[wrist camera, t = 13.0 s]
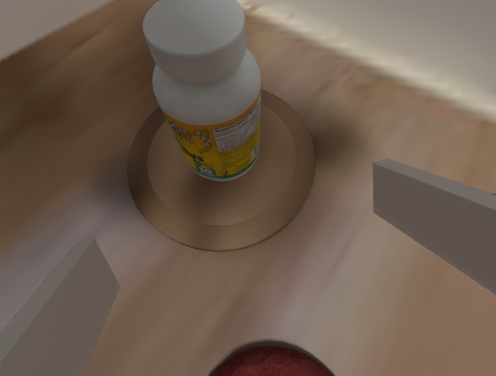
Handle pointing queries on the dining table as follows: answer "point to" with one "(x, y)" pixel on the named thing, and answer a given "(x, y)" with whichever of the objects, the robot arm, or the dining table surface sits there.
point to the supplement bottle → (206, 83)
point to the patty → (272, 364)
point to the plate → (223, 183)
